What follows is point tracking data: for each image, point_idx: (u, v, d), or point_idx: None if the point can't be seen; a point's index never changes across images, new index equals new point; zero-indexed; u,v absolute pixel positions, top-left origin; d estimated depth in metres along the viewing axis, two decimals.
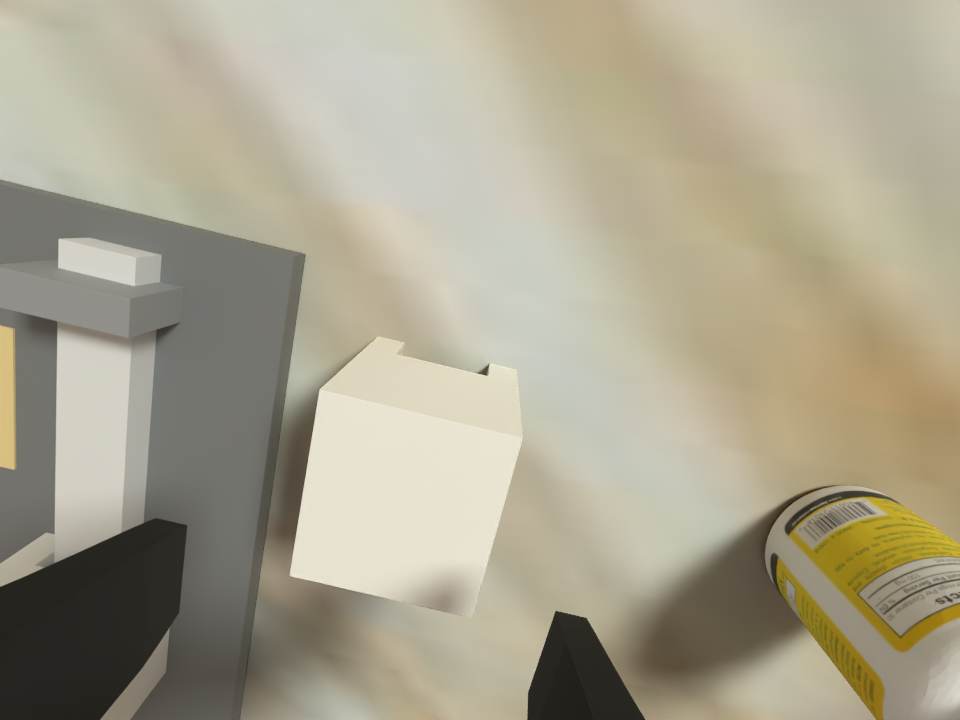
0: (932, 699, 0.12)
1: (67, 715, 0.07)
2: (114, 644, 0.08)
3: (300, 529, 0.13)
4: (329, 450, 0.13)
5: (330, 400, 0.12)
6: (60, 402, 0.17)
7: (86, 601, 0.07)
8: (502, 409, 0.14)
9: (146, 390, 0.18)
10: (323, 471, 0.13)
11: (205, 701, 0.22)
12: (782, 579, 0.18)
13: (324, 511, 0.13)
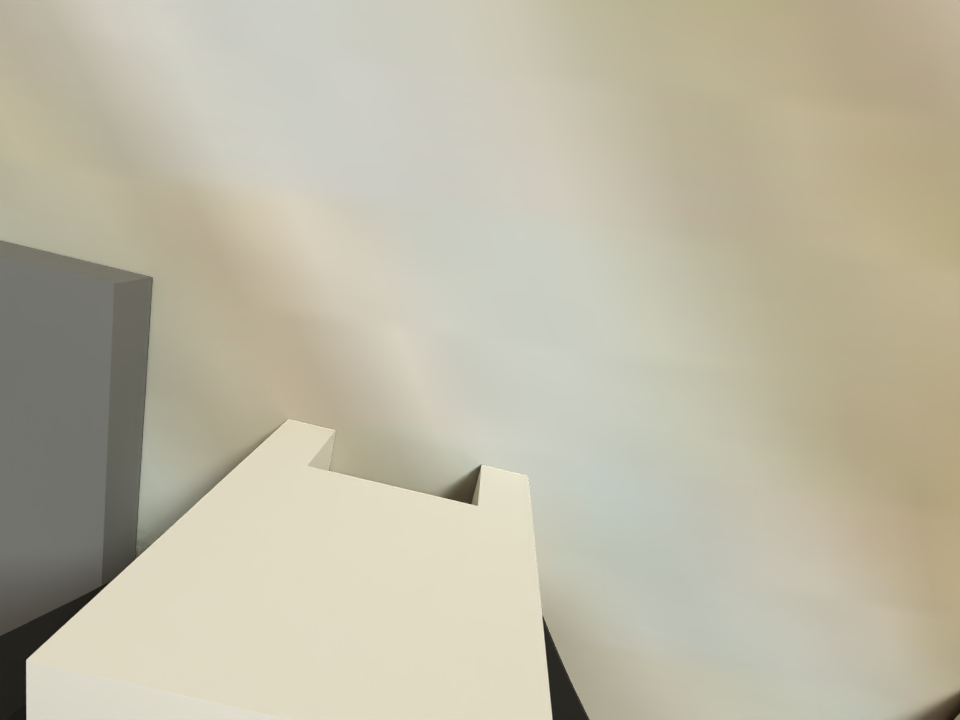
0: None
1: None
2: None
3: None
4: None
5: (58, 685, 0.05)
6: None
7: None
8: (506, 634, 0.06)
9: None
10: None
11: None
12: None
13: None
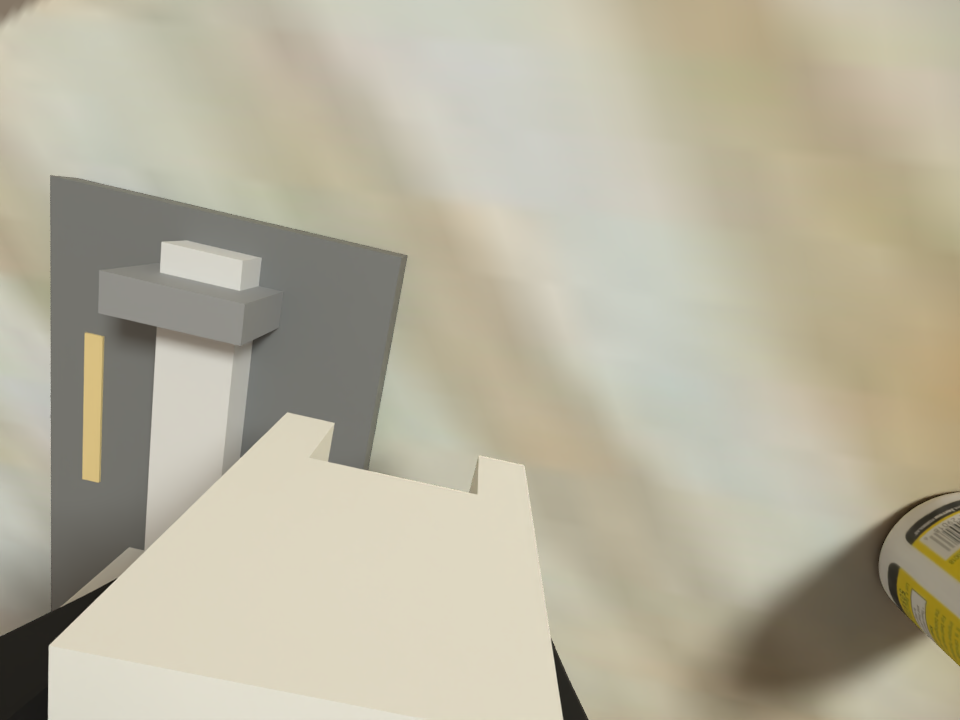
0: None
1: None
2: None
3: None
4: None
5: (80, 670, 0.05)
6: (156, 413, 0.16)
7: None
8: (510, 615, 0.07)
9: (241, 399, 0.17)
10: None
11: None
12: (905, 590, 0.17)
13: None
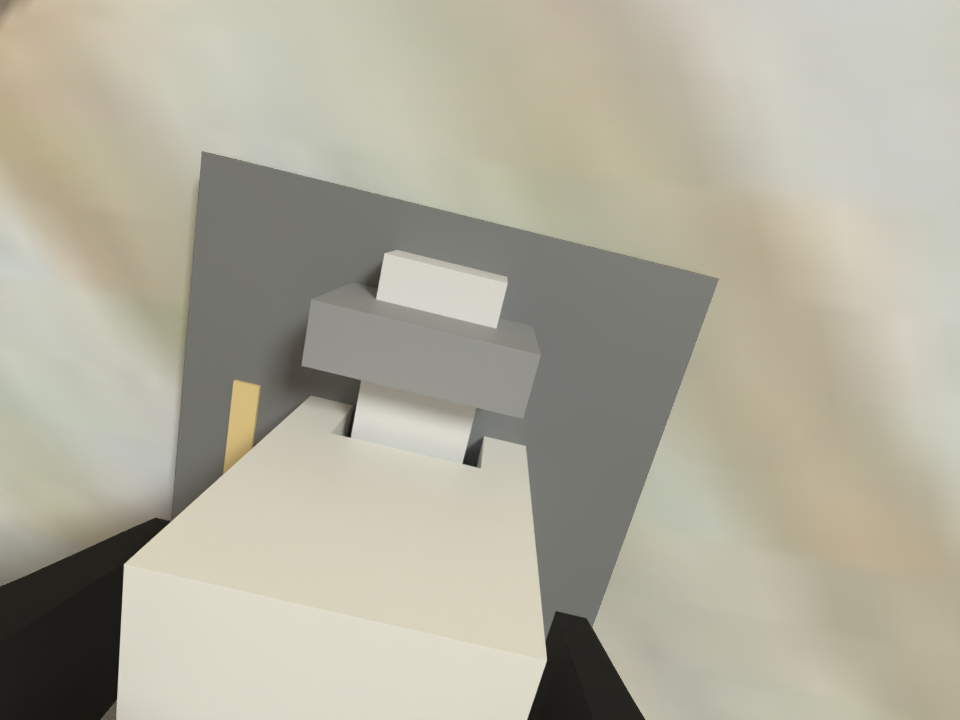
0: None
1: (67, 715, 0.07)
2: (114, 644, 0.08)
3: None
4: (157, 675, 0.06)
5: (148, 585, 0.06)
6: None
7: (86, 601, 0.07)
8: (505, 563, 0.08)
9: None
10: (149, 711, 0.07)
11: None
12: None
13: None
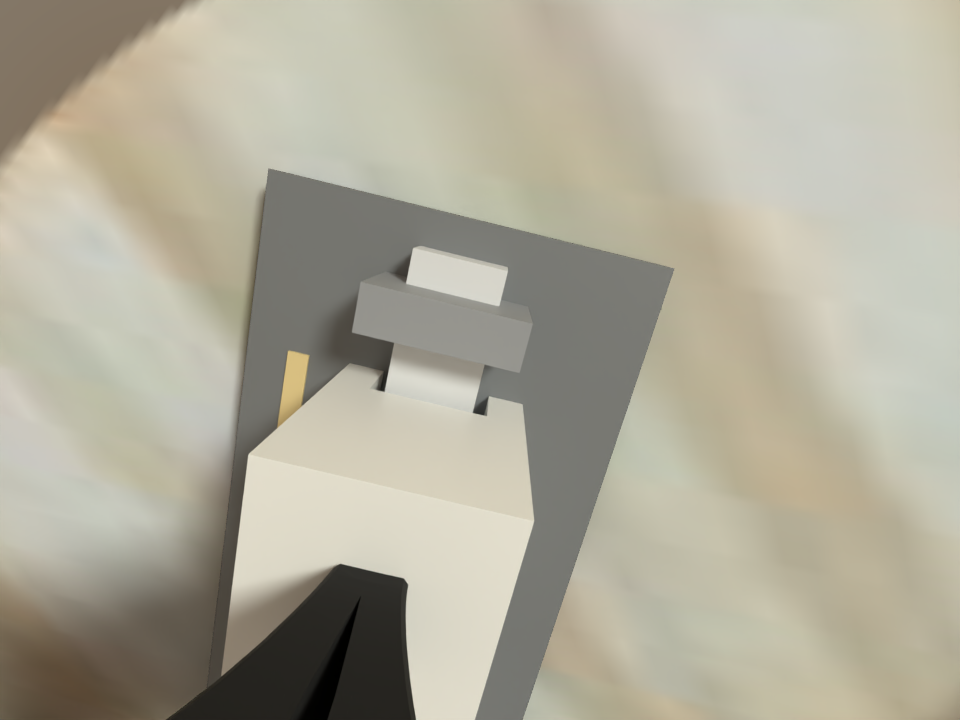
0: None
1: None
2: (331, 693, 0.08)
3: (230, 638, 0.10)
4: (265, 536, 0.09)
5: (264, 469, 0.09)
6: None
7: (330, 657, 0.07)
8: (506, 471, 0.10)
9: None
10: (258, 563, 0.09)
11: None
12: None
13: (263, 615, 0.10)
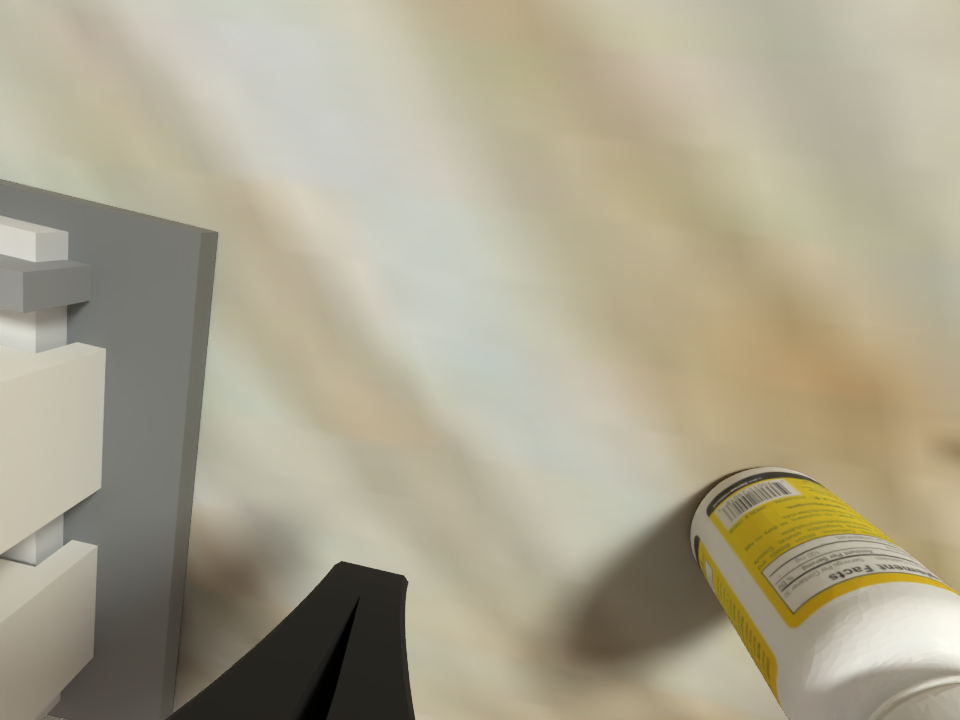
0: (816, 674, 0.12)
1: None
2: (330, 693, 0.08)
3: None
4: None
5: None
6: None
7: (329, 657, 0.07)
8: None
9: None
10: None
11: (134, 686, 0.21)
12: (703, 561, 0.18)
13: None
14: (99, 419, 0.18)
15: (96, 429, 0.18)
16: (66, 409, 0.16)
